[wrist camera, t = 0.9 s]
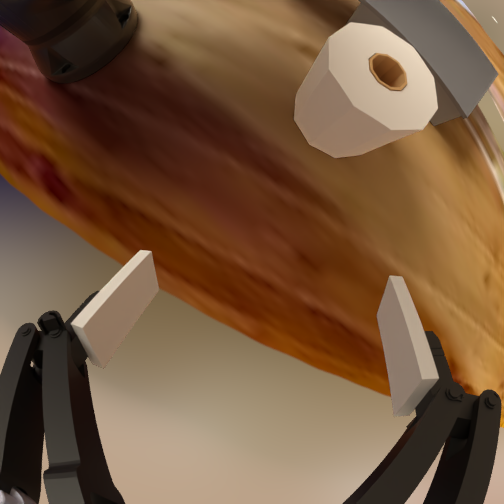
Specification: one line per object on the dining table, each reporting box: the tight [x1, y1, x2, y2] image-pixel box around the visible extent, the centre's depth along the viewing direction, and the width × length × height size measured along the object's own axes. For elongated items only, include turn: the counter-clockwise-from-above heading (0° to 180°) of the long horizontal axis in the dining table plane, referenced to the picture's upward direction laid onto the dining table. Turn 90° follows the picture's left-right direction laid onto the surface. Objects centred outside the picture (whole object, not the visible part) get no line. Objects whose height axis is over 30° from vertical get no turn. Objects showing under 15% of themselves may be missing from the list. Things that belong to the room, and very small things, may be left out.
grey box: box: [345, 0, 498, 126], centre depth 23 cm, size 19×17×7 cm
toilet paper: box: [294, 22, 438, 158], centre depth 22 cm, size 10×10×12 cm
